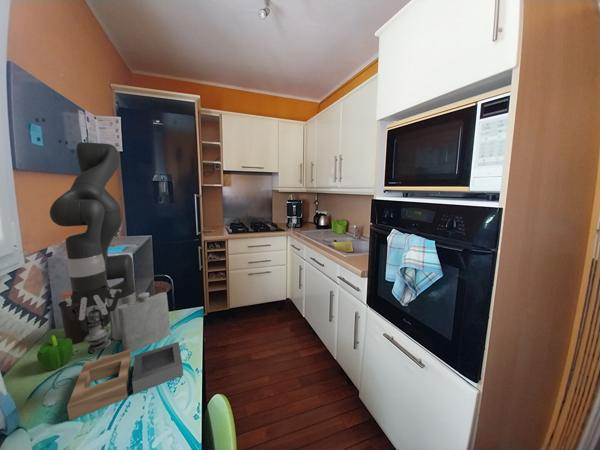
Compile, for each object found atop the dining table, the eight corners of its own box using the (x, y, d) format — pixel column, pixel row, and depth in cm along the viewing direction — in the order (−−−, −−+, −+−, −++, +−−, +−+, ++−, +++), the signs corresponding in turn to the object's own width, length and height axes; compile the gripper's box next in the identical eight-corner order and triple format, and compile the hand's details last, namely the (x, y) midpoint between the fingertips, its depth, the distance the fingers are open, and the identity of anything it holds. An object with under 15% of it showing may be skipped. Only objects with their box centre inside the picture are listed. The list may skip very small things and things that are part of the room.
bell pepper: (71, 367, 78) (66, 340, 77) (36, 378, 74) (30, 349, 72) (78, 352, 85) (74, 327, 84) (46, 361, 81) (41, 335, 79)
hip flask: (168, 330, 98) (164, 285, 95) (172, 334, 95) (168, 288, 92) (122, 350, 86) (115, 300, 83) (126, 355, 83) (118, 303, 80)
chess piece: (81, 353, 65) (74, 314, 63) (93, 340, 71) (87, 303, 69) (106, 349, 67) (100, 310, 65) (115, 337, 72) (110, 301, 71)
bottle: (71, 336, 95) (63, 290, 92) (92, 332, 97) (85, 287, 95) (62, 346, 89) (53, 297, 86) (85, 341, 91) (77, 293, 88)
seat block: (136, 366, 78) (134, 355, 78) (179, 351, 85) (178, 341, 85) (133, 394, 67) (132, 382, 67) (183, 375, 74) (182, 363, 74)
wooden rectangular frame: (86, 374, 75) (84, 363, 74) (131, 359, 81) (130, 349, 81) (69, 420, 60) (66, 406, 59) (127, 398, 66) (125, 385, 66)
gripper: (121, 263, 72) (127, 314, 75) (57, 272, 65) (67, 329, 67) (118, 270, 66) (125, 326, 68) (47, 281, 58) (58, 343, 61)
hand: (96, 327), depth 68 cm, fingers closed on chess piece, 3 cm apart
